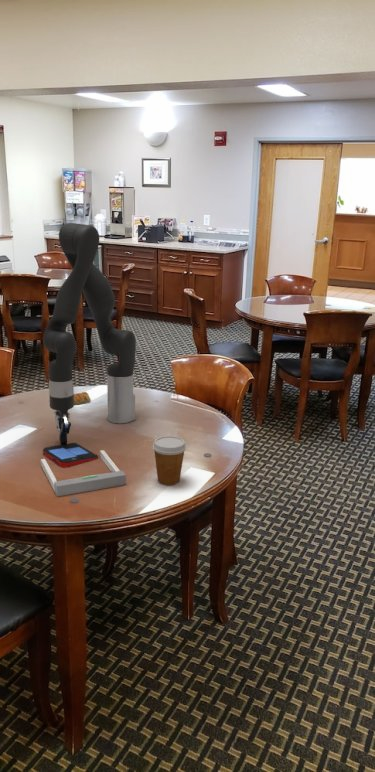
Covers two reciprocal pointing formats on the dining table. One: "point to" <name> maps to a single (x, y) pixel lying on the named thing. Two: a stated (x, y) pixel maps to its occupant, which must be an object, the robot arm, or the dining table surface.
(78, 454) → the game console
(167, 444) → the disposable coffee cup
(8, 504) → the dining table surface
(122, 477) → the charging dock
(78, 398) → the pastry
